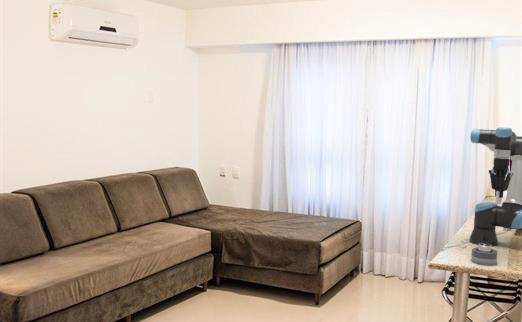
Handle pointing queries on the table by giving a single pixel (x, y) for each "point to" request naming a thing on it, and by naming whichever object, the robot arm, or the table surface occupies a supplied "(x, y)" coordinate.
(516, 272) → the table surface
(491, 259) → the grey short cylinder
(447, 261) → the table surface
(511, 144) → the robot arm
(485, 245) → the cap
